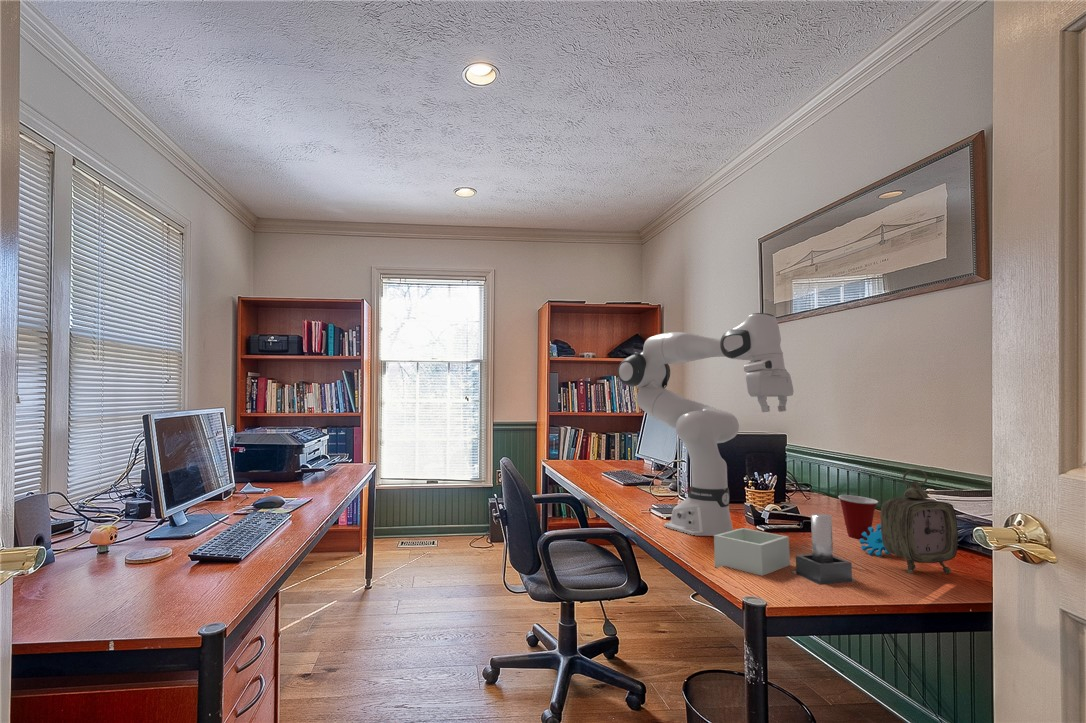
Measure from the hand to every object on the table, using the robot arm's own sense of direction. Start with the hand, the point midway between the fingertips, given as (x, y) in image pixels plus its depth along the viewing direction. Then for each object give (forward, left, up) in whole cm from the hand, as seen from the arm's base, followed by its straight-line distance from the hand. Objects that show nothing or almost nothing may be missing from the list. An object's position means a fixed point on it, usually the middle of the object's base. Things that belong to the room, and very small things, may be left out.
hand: (774, 411), depth 167 cm
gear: (+23, +12, -39) cm, 47 cm away
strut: (+23, -22, -38) cm, 49 cm away
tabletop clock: (+35, +2, -39) cm, 52 cm away
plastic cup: (+11, +28, -39) cm, 49 cm away
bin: (+7, -26, -39) cm, 47 cm away
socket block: (+23, -22, -39) cm, 50 cm away
